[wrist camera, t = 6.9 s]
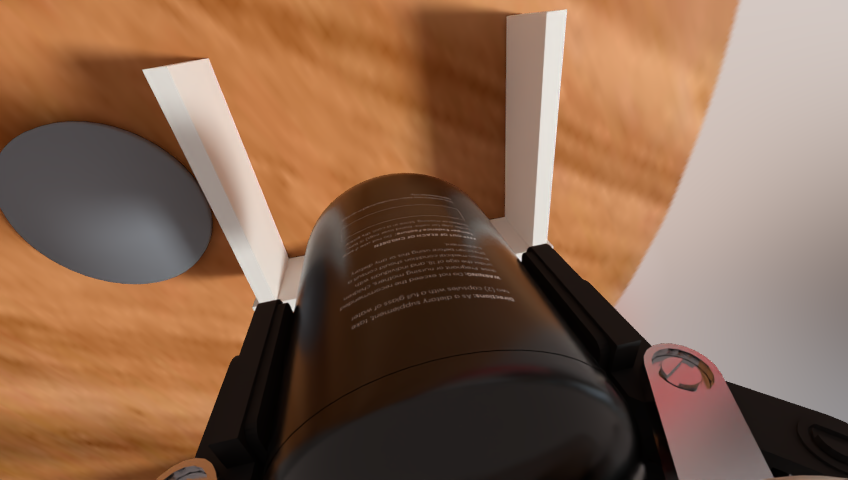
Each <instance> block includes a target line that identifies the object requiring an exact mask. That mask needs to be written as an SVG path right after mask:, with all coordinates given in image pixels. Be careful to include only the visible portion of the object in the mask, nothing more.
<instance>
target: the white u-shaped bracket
mask: <svg viewBox="0 0 848 480" xmlns="http://www.w3.org/2000/svg"><path fill="white" fill-rule="evenodd" d="M566 16H567V9H566V10H556V11H546V12H536V13H526V14H518V15H511V16H507V32H506V146H505V217H501V218H496V219H491V220H490V222H491V223H492V224H493V226H494V227H495V228H496V229H497V231H498V232H499V233H500V235H501V236H502V237H503V239H504V240H505V241H506V243H507V244H508V245H509V247H510V248H511V249H512V250H513V252H514V253H515V254H516V256H517V257H518V258H519V260H520V261H521V262H522V254H523V253H525V252H527V248H528V247H531V246H536V245H541V244H545V243H546V244H549V245H550V246H551V247H552V248H553V245H552V244H551V243H550V242H549V241H548V240H547V235H548V223H549V212H550V200H551V188H552V177H553V165H554V154H555V142H556V131H557V119H558V108H559V96H560V85H561V73H562V62H563V50H564V39H565V27H566ZM142 71H143V73H144V75H145V77H146V79H147V81H148V83H149V85H150V87H151V89H152V91H153V93H154V95H155V97H156V99H157V101H158V103H159V105H160V107H161V109H162V111H163V113H164V115H165V117H166V119H167V121H168V123H169V125H170V127H171V129H172V131H173V133H174V135H175V137H176V139H177V141H178V143H179V145H180V147H181V148H182V150H183V152H184V154H185V156H186V158H187V160H188V162H189V164H190V166H191V168H192V170H193V172H194V174H195V176H196V178H197V180H198V182H199V184H200V186H201V188H202V190H203V192H204V194H205V196H206V198H207V200H208V202H209V204H210V206H211V208H212V210H213V212H214V214H215V216H216V218H217V220H218V222H219V224H220V226H221V228H222V230H223V232H224V234H225V236H226V238H227V240H228V242H229V244H230V246H231V248H232V250H233V252H234V254H235V256H236V258H237V260H238V262H239V264H240V266H241V268H242V270H243V272H244V274H245V276H246V278H247V280H248V282H249V284H250V286H251V288H252V290H253V292H254V294H255V296H256V299H255V301H254V304H253V307H252V308H253V310H254V311H255V309H256V307H257V305H258V304H259V303H263V302H267V301H272V300H277V299H280V300H281V301H282V302H283V303H289V304H290V306H291V309H292V311H294V309H295V303H296V298H297V293H298V287H299V282H300V277H301V272H302V266H303V261H304V257H305V255H304V256H299V257H294V258H289V257H288V255H287V252H286V250H285V247H284V245H283V242H282V240H281V237H280V235H279V232H278V230H277V227H276V225H275V222H274V220H273V217H272V215H271V212H270V210H269V208H268V205H267V203H266V200H265V198H264V195H263V193H262V190H261V188H260V185H259V183H258V180H257V178H256V175H255V173H254V170H253V168H252V165H251V163H250V160H249V158H248V155H247V153H246V150H245V148H244V145H243V143H242V140H241V138H240V135H239V133H238V130H237V128H236V126H235V123H234V121H233V118H232V116H231V113H230V111H229V108H228V106H227V103H226V101H225V98H224V96H223V93H222V91H221V88H220V86H219V83H218V81H217V78H216V76H215V73H214V71H213V68H212V66H211V63H210V61H209V58H207V59H200V60H193V61H187V62H181V63H176V64H171V65H165V66H160V67H154V68H149V69H143V70H142Z"/></svg>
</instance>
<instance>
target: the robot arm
mask: <svg viewBox="0 0 848 480" xmlns="http://www.w3.org/2000/svg"><path fill="white" fill-rule="evenodd" d="M522 264H523V265H524V266H525V267H526V269H527V270H528V271H529V273H530V274H531V275H532V277H533V278H534V279H535V281H536V282H537V283H538V284H539V286H540V287H541V288H542V290H543V291H544V292H545V294H546V295H547V296H548V298H549V299H550V300H551V301H552V303H553V304H554V305H555V307H556V308H557V309H558V311H559V312H560V313H561V315H562V316H563V317H564V318H565V320H566V321H567V322H568V324H569V325H570V326H571V328H572V329H573V330H574V332H575V333H576V334H577V336H578V337H579V338H580V339H581V341H582V342H583V343H584V345H585V346H586V347H587V349H588V350H589V351H590V353H591V354H592V355H593V356H594V358H595V359H596V360H597V362H598V363H599V364H600V366H601V367H602V368H603V370H604V371H605V372H606V374H607V375H608V376H609V378H610V379H611V380H612V382H613V384H614V385H615V386H616V388H617V389H618V390H619V392H620V393H621V394H622V396H623V397H624V399H625V400H626V402H627V403H628V405H629V406H630V408H631V410H632V412H633V413H634V415H635V417H636V420H637V422H638V425H639V428H640V431H641V434H642V438H643V442H644V446H645V451H646V458H647V474H648V478H647V480H848V424H847V423H846V422H843V421H841V420H839V419H836V418H834V417H831V416H829V415H826V414H823V413H820V412H817V411H814V410H811V409H808V408H805V407H802V406H799V405H796V404H793V403H790V402H787V401H784V400H781V399H778V398H775V397H772V396H769V395H766V394H763V393H760V392H757V391H754V390H751V389H748V388H745V387H742V386H739V385H736V384H733V383H730V382H727V381H725V380H724V378H723V376H722V374H721V372H720V371H719V370H718V368H717V367H716V365H715V364H714V363H712V362H711V361H710V360H709V359H708V358H707V357H705V356H704V355H702V354H700V353H699V352H697V351H695V350H692V349H690V348H687V347H685V346H682V345H676V344H672V343H666V344H665V343H661V344H657V345H653V346H651V345H650V344H649V343H648V342H647V341H646V340H645V339H644V338H643V337H642V336H641V335H640V334H639V333H638V332H637V331H636V330H635V329H634V328H633V327H632V326H631V325H630V324H629V323H628V322H627V321H626V320H625V319H624V318H623V317H622V316H621V315H620V314H619V313H618V311H616V309H615V308H614V307H613V306H612V305H611V304H610V303H609V302H608V301H607V300H606V299H605V298H604V297H603V296H602V295H601V294H600V293H599V292H598V291H597V290H596V289H595V288H594V287H593V286H592V285H591V284H590V283H589V282H587V281H586V280H583V279H582V278H581V277H580V276H579V275H578V274H577V273H576V272H575V271H574V270H573V269H572V268H571V267H570V266H569V265H568V264H567V263H566V262H565V261H564V260H563V258H562V257H561V256H560V255H559V254H558V253H557V252H556V251H555V250H554V249H553V248H552V247H551V246H550V245H549V244H546V243H545V244H541V245H536V246H531V247H528V248H527V252H525V253H523V254H522ZM293 314H294V313H293V311H292V309H291V306H290V304H289V303H283V302H282V301H281V300H280V299H277V300H272V301H267V302H263V303H259V304H258V305H257V307H256V309H255V312H254V315H253V318H252V321H251V324H250V326H249V329H248V332H247V335H246V338H245V340H244V343H243V346H242V349H241V352H240V355H239V356H235V357H234V358H233V359H232V361H231V363H230V365H229V368H228V370H227V373H226V376H225V378H224V381H223V384H222V387H221V389H220V392H219V395H218V397H217V400H216V403H215V405H214V408H213V411H212V413H211V416H210V419H209V421H208V424H207V427H206V429H205V432H204V435H203V437H202V440H201V443H200V445H199V448H198V451H197V453H196V456H195V458H193V459H189V460H185V461H183V462H181V463H178V464H176V465H174V466H172V467H171V468H170V469H168V470H167V471H166V472H164V473H163V474H162V475H160V476H159V477H158V478H157V479H156V480H262V478H263V472H264V467H265V461H266V456H267V451H268V445H269V440H270V435H271V430H272V424H273V419H274V414H275V408H276V403H277V398H278V393H279V387H280V382H281V377H282V372H283V366H284V361H285V356H286V351H287V345H288V340H289V335H290V330H291V324H292V319H293Z"/></svg>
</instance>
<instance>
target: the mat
mask: <svg viewBox="0 0 848 480" xmlns="http://www.w3.org/2000/svg"><path fill="white" fill-rule="evenodd" d="M0 208H1V210H2V212H3V213H4V215H5V217H6V218H7V220H8V221H9V223H10V224H11V225H12V226H13V228H14V229H15V230H16V231H17V232H18V233H19V234H20V235H21V236H22V237H23V239H24V240H25V241H27V242H28V243H29V244H30V245H31V246H33V247H34V248H35V249H36V250H38V251H39V252H40V253H42V254H43V255H45V256H46V257H48V258H49V259H51V260H53V261H54V262H56V263H58V264H60V265H62V266H64V267H66V268H68V269H70V270H72V271H75V272H77V273H80V274H83V275H85V276H89V277H92V278H95V279H99V280H104V281H108V282H115V283H122V284H148V283H155V282H160V281H164V280H168V279H170V278H173V277H176V276H178V275H180V274H182V273H184V272H185V271H187V270H188V269H189V268H191V267H192V266H193V265H194V264H195V263H196V262H197V261H198V260H199V259H200V257H201V256H202V254H203V253H204V251H205V250H206V248H207V246H208V244H209V242H210V239H211V235H212V225H213V222H212V214H211V210H210V206H209V203H208V201H207V198H206V196H205V194H204V192H203V190H202V189H201V187H200V185H199V184H198V182H197V181H196V180H195V178H194V177H193V176H192V175H191V173H190V172H189V171H188V170H187V169H186V168H185V167H184V166H183V165H182V164H181V163H180V162H179V161H177V160H176V159H175V158H174V157H173V156H172V155H170V154H169V153H167V152H166V151H165V150H163V149H162V148H160V147H159V146H157V145H155V144H154V143H152V142H150V141H148V140H147V139H144V138H142V137H140V136H138V135H136V134H134V133H131V132H128V131H126V130H123V129H120V128H117V127H113V126H109V125H105V124H100V123H93V122H83V121H67V122H57V123H52V124H48V125H44V126H40V127H37V128H34V129H32V130H29V131H27V132H24V133H22V134H21V135H19V136H17V137H16V138H14V139H13V140H12V141H11V142H9V143H8V144H7V145H6V146H5V147H4V149H3V150H2V152H1V153H0Z"/></svg>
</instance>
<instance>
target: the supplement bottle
mask: <svg viewBox="0 0 848 480" xmlns="http://www.w3.org/2000/svg"><path fill="white" fill-rule="evenodd" d="M647 478H648V474H647V458H646V451H645V446H644V442H643V438H642V434H641V431H640V428H639V425H638V422H637V420H636V417H635V415H634V413H633V412H632V410H631V408H630V406H629V405H628V403H627V402H626V400H625V399H624V397H623V396H622V394H621V393H620V392H619V390H618V389H617V388H616V386H615V385H614V384H613V382H612V380H611V379H610V378H609V376H608V375H607V374H606V372H605V371H604V370H603V368H602V367H601V366H600V364H599V363H598V362H597V360H596V359H595V358H594V356H593V355H592V354H591V353H590V351H589V350H588V349H587V347H586V346H585V345H584V343H583V342H582V341H581V339H580V338H579V337H578V336H577V334H576V333H575V332H574V330H573V329H572V328H571V326H570V325H569V324H568V322H567V321H566V320H565V318H564V317H563V316H562V315H561V313H560V312H559V311H558V309H557V308H556V307H555V305H554V304H553V303H552V301H551V300H550V299H549V298H548V296H547V295H546V294H545V292H544V291H543V290H542V288H541V287H540V286H539V284H538V283H537V282H536V281H535V279H534V278H533V277H532V275H531V274H530V273H529V271H528V270H527V269H526V267H525V266H524V265H523V264H522V262H521V261H520V260H519V258H518V257H517V256H516V254H515V253H514V252H513V250H512V249H511V248H510V247H509V245H508V244H507V243H506V241H505V240H504V239H503V237H502V236H501V235H500V233H499V232H498V231H497V229H496V228H495V227H494V226H493V224H492V223H491V222H490V220H489V219H488V218H487V217H486V215H485V214H484V213H483V212H482V211H481V209H480V208H479V207H478V206H477V204H476V203H475V202H474V201H473V200H472V199H471V198H470V197H469V196H468V195H467V194H465V193H464V192H463V191H462V190H460V189H459V188H457V187H456V186H454V185H452V184H450V183H448V182H446V181H444V180H441V179H438V178H435V177H432V176H427V175H423V174H415V173H396V174H388V175H383V176H379V177H375V178H372V179H369V180H366V181H364V182H362V183H359V184H357V185H355V186H354V187H352V188H350V189H348V190H347V191H345V192H344V193H343V194H341V195H340V196H339V197H337V198H336V199H335V200H334V201H333V202H332V203H331V204H330V205H329V206H328V207H327V208H326V209H325V210H324V212H323V213H322V214H321V216H320V217H319V219H318V220H317V222H316V224H315V226H314V228H313V230H312V232H311V235H310V238H309V241H308V244H307V248H306V253H305V257H304V261H303V266H302V272H301V277H300V282H299V287H298V293H297V298H296V303H295V309H294V314H293V319H292V324H291V330H290V335H289V340H288V345H287V351H286V356H285V361H284V366H283V372H282V377H281V382H280V387H279V393H278V398H277V403H276V408H275V414H274V419H273V424H272V430H271V435H270V440H269V445H268V451H267V456H266V461H265V467H264V472H263V478H262V480H647Z"/></svg>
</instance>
